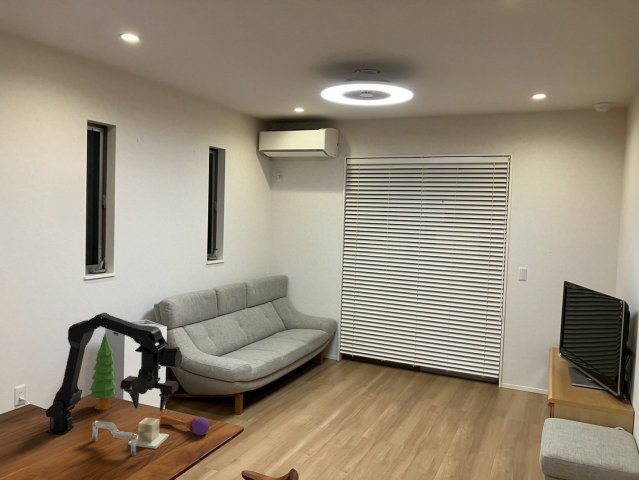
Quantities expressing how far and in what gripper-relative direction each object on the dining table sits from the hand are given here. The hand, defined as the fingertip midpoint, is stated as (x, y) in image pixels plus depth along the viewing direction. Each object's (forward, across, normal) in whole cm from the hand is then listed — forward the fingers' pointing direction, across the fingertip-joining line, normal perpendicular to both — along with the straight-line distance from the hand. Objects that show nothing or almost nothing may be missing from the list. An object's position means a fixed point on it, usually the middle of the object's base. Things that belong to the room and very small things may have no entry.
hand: (148, 409), depth 173 cm
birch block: (+10, 0, 0) cm, 10 cm away
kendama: (+11, +8, +11) cm, 18 cm away
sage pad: (+11, 0, 0) cm, 11 cm away
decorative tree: (+11, -31, +21) cm, 39 cm away
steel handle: (+11, -9, -7) cm, 16 cm away
